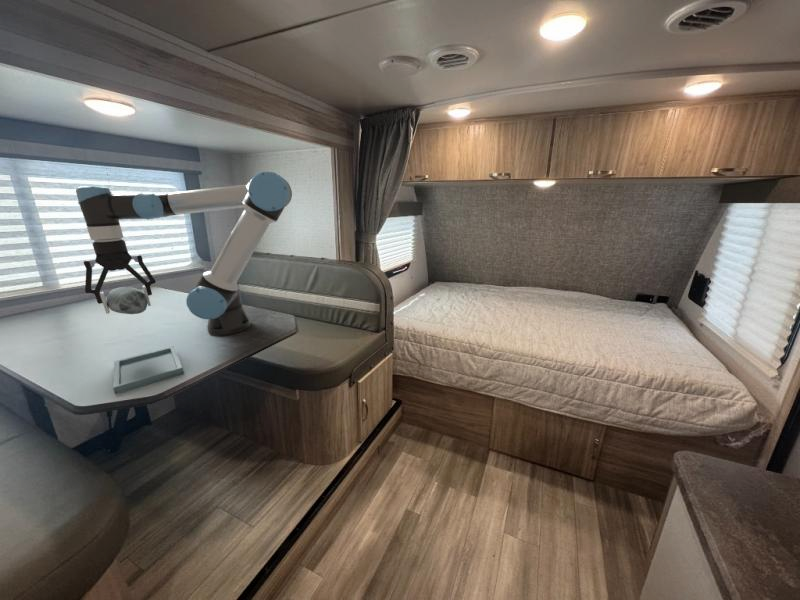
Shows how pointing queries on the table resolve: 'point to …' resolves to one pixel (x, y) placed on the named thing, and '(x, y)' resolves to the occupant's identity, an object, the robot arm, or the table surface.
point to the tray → (146, 369)
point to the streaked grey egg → (127, 300)
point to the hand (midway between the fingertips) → (129, 308)
